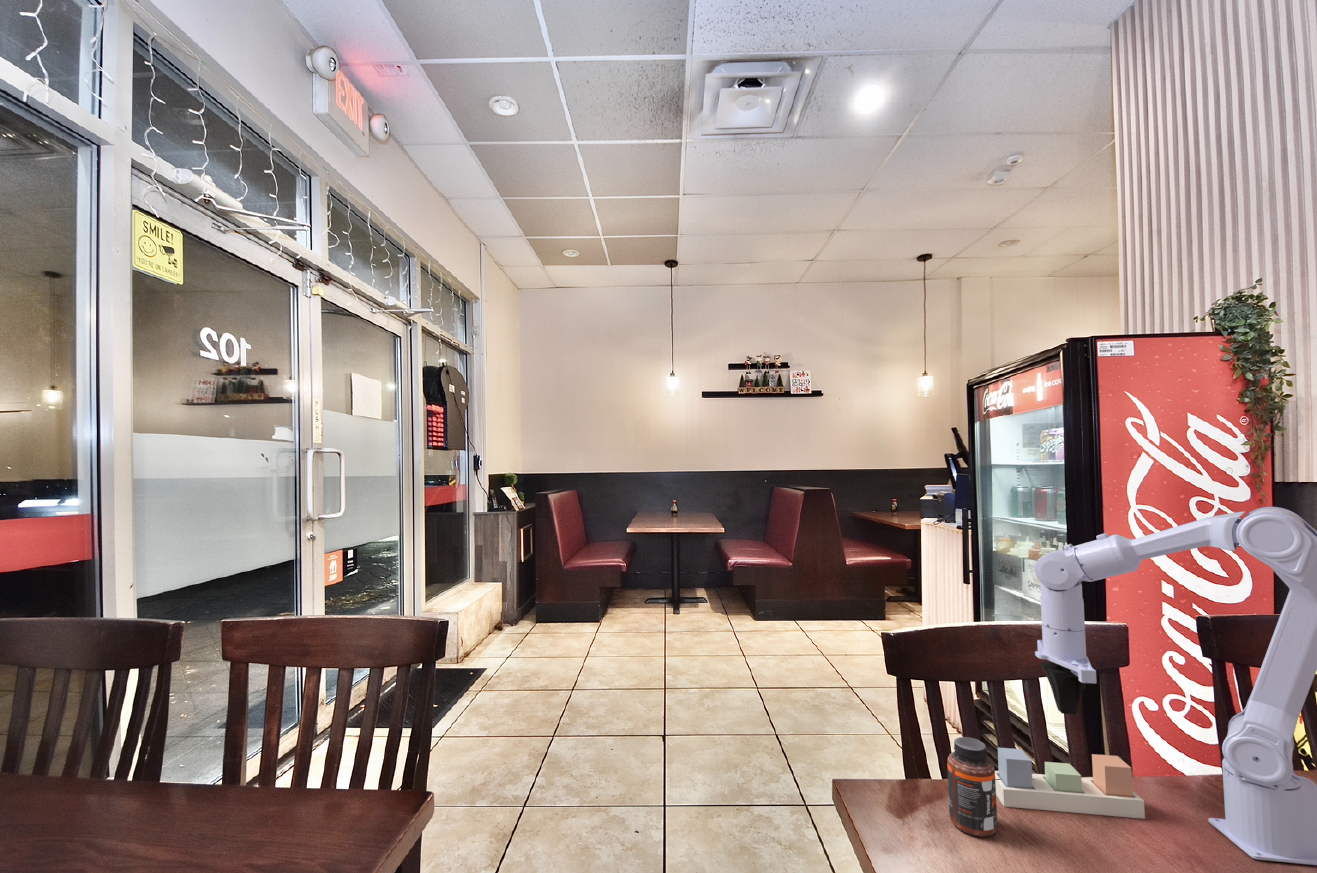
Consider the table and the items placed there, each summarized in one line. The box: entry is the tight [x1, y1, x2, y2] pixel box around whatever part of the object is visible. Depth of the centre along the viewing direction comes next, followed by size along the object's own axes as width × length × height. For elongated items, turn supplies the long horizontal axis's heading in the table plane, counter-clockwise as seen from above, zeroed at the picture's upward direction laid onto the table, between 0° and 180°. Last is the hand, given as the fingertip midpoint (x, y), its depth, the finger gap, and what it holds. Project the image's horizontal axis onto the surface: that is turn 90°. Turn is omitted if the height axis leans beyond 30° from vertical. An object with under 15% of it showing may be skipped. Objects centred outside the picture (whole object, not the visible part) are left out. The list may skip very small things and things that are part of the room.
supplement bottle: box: [947, 736, 998, 837], centre depth 81 cm, size 6×6×11 cm
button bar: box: [995, 770, 1146, 820], centre depth 86 cm, size 18×5×2 cm, turn 79°
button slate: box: [997, 747, 1033, 789], centre depth 87 cm, size 3×3×4 cm
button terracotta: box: [1091, 753, 1134, 798], centre depth 85 cm, size 3×3×4 cm
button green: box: [1044, 761, 1082, 793], centre depth 86 cm, size 3×3×4 cm
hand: (1067, 712), depth 92 cm, fingers closed
